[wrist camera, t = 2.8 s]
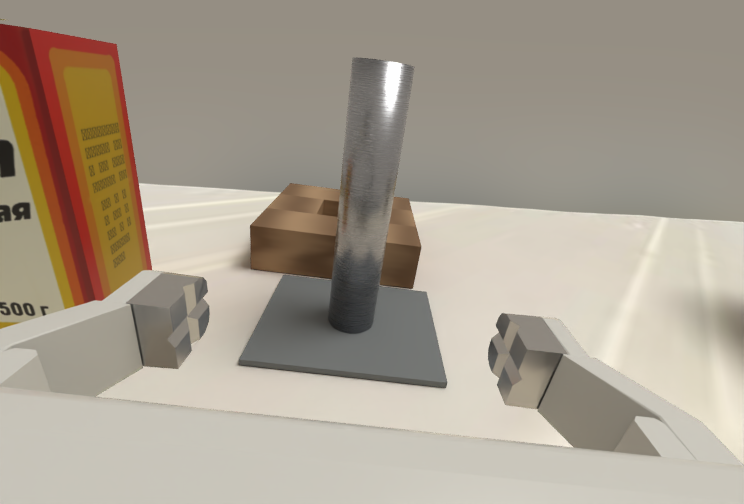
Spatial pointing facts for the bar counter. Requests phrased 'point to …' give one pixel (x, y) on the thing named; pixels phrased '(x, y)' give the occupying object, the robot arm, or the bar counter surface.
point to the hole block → (326, 236)
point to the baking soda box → (64, 175)
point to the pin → (367, 188)
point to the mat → (347, 336)
